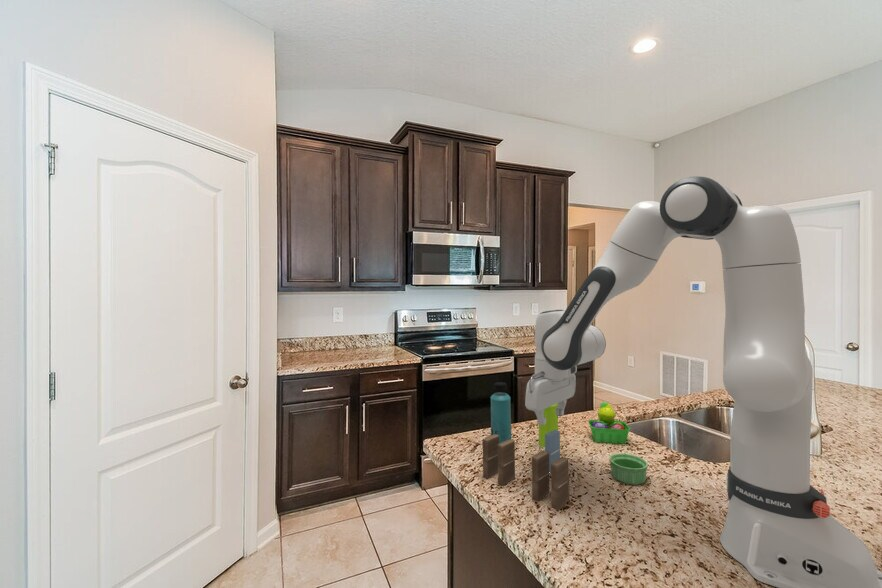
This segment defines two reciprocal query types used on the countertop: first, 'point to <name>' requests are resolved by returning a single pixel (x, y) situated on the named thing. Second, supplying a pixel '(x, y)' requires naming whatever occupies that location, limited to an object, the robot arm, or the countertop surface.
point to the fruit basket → (608, 426)
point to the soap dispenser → (548, 423)
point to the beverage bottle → (501, 413)
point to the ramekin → (628, 468)
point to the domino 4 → (552, 446)
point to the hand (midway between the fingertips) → (551, 419)
